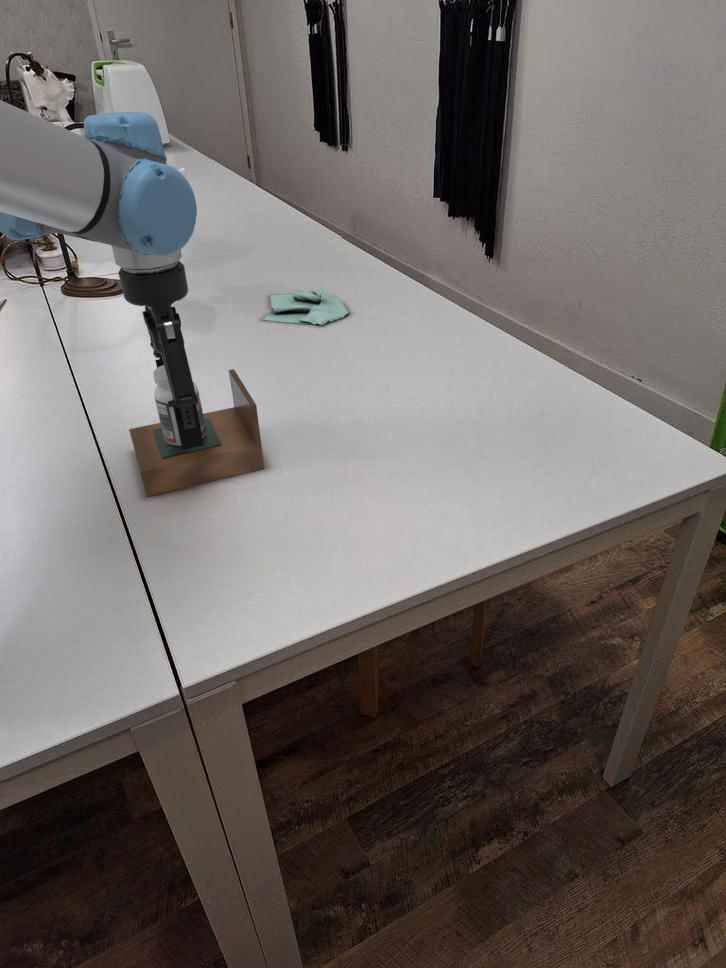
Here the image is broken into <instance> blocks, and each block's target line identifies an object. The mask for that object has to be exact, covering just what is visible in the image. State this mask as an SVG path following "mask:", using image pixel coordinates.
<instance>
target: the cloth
mask: <svg viewBox="0 0 726 968" xmlns="http://www.w3.org/2000/svg"><path fill="white" fill-rule="evenodd" d="M270 305H271V309H272V311H271V312H270V313H269V314H268V315H266V316H264V317H263V318H262V321H267V322H278V323H284V324H285V323H286V324H297V325H307V324H311V325H319V326H320V327H323V326H325V325H327V324H331V323H333V322H335V321H339V320H342V319H344V317H345V316H348V315H349V314H350V311H348V310H347V307H345V304H344V303H343V301H342V300H340V298H338V297H337V296H335V295H334V294H333V293H330V292H329V291H327V290H325V289H322V288H320V287H319V288H318V287H317V288H315V289H314V290H312V292H311V291H309V290H302V291H301V290H300V289H298V290H297V291H296V292H295V293H290V294H273V295H270Z"/></svg>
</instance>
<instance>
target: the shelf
mask: <svg viewBox="0 0 726 968" xmlns="http://www.w3.org/2000/svg"><path fill="white" fill-rule="evenodd" d="M228 375H229V381H230V389H231V395H232V401H233V402H232V403H233V406H232V407H229V408H223V409H219V410H214V411H209V412H205V413H204V412H203V416H204V422H205V426H206V434H205V436H204V438H203V443H204V446H199V447H195V448H190V449H186V450H183V449H182V446H175V445H171V444H169V443H168V442H166V440H165V438H164V435H163V431H162V427H161V423H160V422H157V423H151V424H147V425H143V426H138V427H133V428H129V429H128V430H129V435H130V438H131V442H132V447H133V449H134V454H135V457H136V461H137V466H138V469H139V473H140V476H141V481H142V484H143V488H144V492H145V495H146V497H147V498H148V497H153V496H156V495H161V494H165V493H169V492H173V491H178V490H182V489H186V488H189V487H193V486H198V485H202V484H206V483H211V482H214V481H218V480H223V479H226V478H231V477H235V476H239V475H244V474H248V473H251V472H252V473H253V472H256V471H259V470H264V469H265V461H264V454H263V445H262V439H261V431H260V423H259V416H258V415H259V414H258V408H257V403H256V401H255V400H254V399H253V397H252V395H251V394H250V392H249V391H248V390H247V387H246V386H245V385H244V382H243V381H242V380H241V378H240V377H239V375H238V373H237V371H236V370H235V369H234V368H232V369H229V370H228Z"/></svg>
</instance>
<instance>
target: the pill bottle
mask: <svg viewBox="0 0 726 968" xmlns="http://www.w3.org/2000/svg"><path fill="white" fill-rule="evenodd" d="M190 372H191V373H192V371H191V370H190ZM152 375H153V380H154V381H153V382H154V383H155V384H156V386H155V388H154V390H153V396H154V401H155V406H156V409H157V414H158V418H159V423H161V427H162V431H163V435H164V438H165V440H166V442H168V443H169V444H171V445H175V446H181V442H180V437H179V432H178V427H177V423H176V418H175V413H174V409H173V407H169V406H168V401H172V400H173V396H172V393H171V389H170V385H169V381H168V378H167V374H166V370H165V366H164V365H163V366H160V367H158V368H157V367H156V368H155V369H154V370H153V372H152ZM191 376H192V374H191ZM192 377H193V376H192ZM193 385H194V389H195V393H196V396H197V397H198V404H196V406H197V411H198V416H199V422H200V427H201V432H202V438H204V436H205V434H206V426H205V422H204V416H203V414H204V412H203V407H202V401H201V397H200V392H199V388H198V385H197V383H195V382H194V381H193Z"/></svg>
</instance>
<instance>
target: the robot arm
mask: <svg viewBox="0 0 726 968" xmlns="http://www.w3.org/2000/svg"><path fill="white" fill-rule="evenodd" d="M156 120H157V119H155V117H153V116H152V115H151V114H149V113H147V112H142V111H114V112H102V113H96V114H94V115H93V114H91V115H88V116H86V117H85V118H84V120H83V131H84V134H83V135H84V136H83V135H81V134H78V133H76V132H74V131H71V130H70V129H67V128H65V127H63V126H60V125H58V124H56V123H53V122H51V121H49V120H46V119H44V118H42V117H40V116H37V115H35V114H34V113H31V112H28V111H26V110H24V109H22V108H19V107H17V106H15V105H13V104H10V103H9V102H6V101H3V100H0V233H1V234H3V235H4V236H6V237H7V238H9V239H10V240H15V241H22V240H30V239H38V240H40V239H42V238H43V237H44V236H48V235H52V234H61V235H65V236H69V237H73V238H77V239H82V240H86V241H90V242H95V243H100V244H105V245H108V246H111V250H112V254H113V259H114V262H115V263H114V264H115V265H117V266H118V267H119V268H120V269H119V270H118V277H119V283H120V286H121V291H122V294H123V298H124V300H125V301H126V302H127V303H129V304H131V305H133V306H138V307H144V311H142V317H143V320H144V324H145V325H146V329H147V331H148V335H149V339H150V343H149V345H150V347H151V349H152V352H153V353H152V354H153V356H154V357H155V360H154V361H155V366H156V369H157V368H158V367H160V366H163V365H164V366H165V370H166V374H167V378H168V381H169V385H170V389H171V393H172V396H173V400H172V401H168V406H169V407H173V409H174V413H175V418H176V423H177V427H178V432H179V437H180V442H181V446H182V449H183V450H186V449H190V448H195V447H199V446H204V443H203V438H202V432H201V427H200V422H199V416H198V411H197V406H196V404H198V397H197V396H196V393H195V389H194V385H193V382H194V380H193V376H191V375H192V371H191V368H190V363H189V360H188V356H187V351H186V347H185V340H184V336H183V332H182V329H181V327H182V321H181V317H180V313H179V312H177V309H176V307H175V306H172V305H173V304H174V303H175V302H177V301H178V302H179V301H181V300H183V299H184V298H186V296H187V295H188V293H189V287H188V280H187V274H186V269H185V264H183V263H182V262H181V261H180V260H181V259H182V258H183V257H182V256H183V254H182V249H183V248H184V247H186V245H187V244H188V242H190V240H191V238H192V236H193V235H194V231H195V226H196V224H197V221H196V220H197V215H198V209H197V200H196V196H195V193H194V190H193V188H192V185H191V184H190V183H189V181H188V179H187V178H186V177H185V175H184V174H183V173H182V172H181V171H179V170H178V169H176V168H175V167H174V166H172V165H169V164H167V161H168V159H167V156H166V153H165V147H164V144H163V140H162V135H161V132H160V128H159V124H158V122H157V121H156ZM190 371H191V372H190Z"/></svg>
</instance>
